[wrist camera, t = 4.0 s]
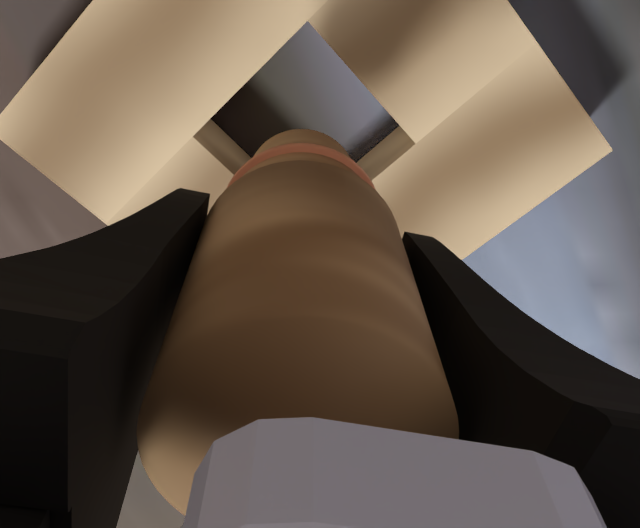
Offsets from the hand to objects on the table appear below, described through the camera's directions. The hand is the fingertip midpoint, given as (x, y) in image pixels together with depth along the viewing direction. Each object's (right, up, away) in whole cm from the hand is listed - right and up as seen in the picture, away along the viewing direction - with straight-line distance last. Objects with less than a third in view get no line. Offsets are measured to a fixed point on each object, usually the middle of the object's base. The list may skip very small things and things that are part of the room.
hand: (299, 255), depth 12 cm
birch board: (0, +5, +9) cm, 10 cm away
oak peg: (0, +2, +3) cm, 4 cm away
